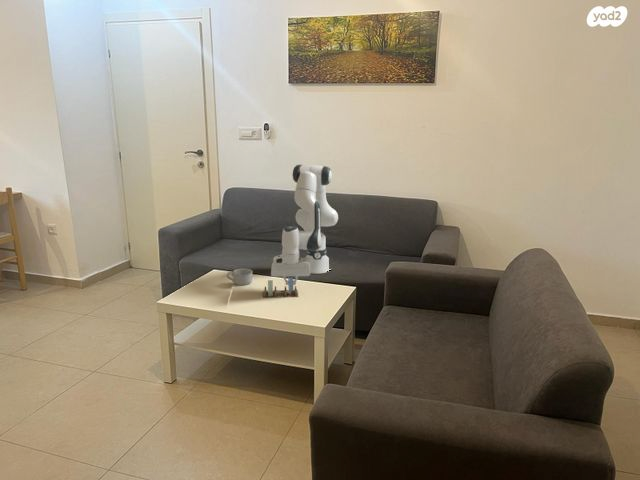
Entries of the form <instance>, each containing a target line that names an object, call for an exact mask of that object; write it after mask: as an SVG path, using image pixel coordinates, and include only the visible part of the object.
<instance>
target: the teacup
mask: <svg viewBox="0 0 640 480" xmlns="http://www.w3.org/2000/svg"><path fill="white" fill-rule="evenodd" d="M230 274H231V276H232V277H230ZM226 277H227V278H228V280H230V281H231V282H232V283H233V284H235V285H237V286H247V285H251V283H252V282H253V270H251V269H249V268H237V269H234V270H233V271H228V272H227V274H226Z"/></svg>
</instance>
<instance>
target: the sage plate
mask: <svg viewBox="0 0 640 480" xmlns="http://www.w3.org/2000/svg"><path fill="white" fill-rule="evenodd" d="M273 283H274V281H273V280H267V291H268V296H273V290H274V284H273Z"/></svg>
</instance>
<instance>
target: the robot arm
mask: <svg viewBox="0 0 640 480" xmlns="http://www.w3.org/2000/svg"><path fill="white" fill-rule="evenodd" d="M332 179H333V173H332V170H331V168H330V167H329V166H325V165H317V164H296V165H295V166H294V167H293V170H292V180H293V181H294V183H296V184H295V185H296V186H295V191H294V196H293V197H294V202H295V203H296V205H297V206H298V207H300V209H298V210H297V212H296V213H295V222H296V223H297V224H298V225H299V226H300V227H301V228H302V229H303V230H299V227H298V226H296V225H289V226H288V225H287V226H284V227H283V230H282V234H281V246H282V250H281V254H278V255H276V256H274V257H273V259H272V261H273V262H272V263H271V267H270V268H271V269H270V275H271V277H273V278H275V277H277V278H278V277H279V278H280V277H282V278H283V281H284V282H285V286H288V285H289V284H288V283H289V282H288V279H287V277H288V276H293V277H294V278H295V279H293V286H296V284H297V281H298V279H299V277H310V275H311V274H325V273H328V272H330V271H329V270H331V269H332V268H331V269H329V267H330V264H329V262H330V259H329V258H330V257H328V256H327V247H326V243H327V241H326V238H327V236H326V235H325V234H324V233H323V232H322V227H333V226H335V225H336V224H337V223H338V221H339V213H338V212H337V210H335V208H332V206H331V205H330V204H329V203H328V201H327V190H326V188H327V187H326V186H327V185H329V184H331V181H332ZM300 250H304V251H305V250H306V256H305V257H300ZM327 271H328V272H327Z"/></svg>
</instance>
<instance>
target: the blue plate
mask: <svg viewBox="0 0 640 480" xmlns="http://www.w3.org/2000/svg"><path fill="white" fill-rule="evenodd" d="M287 278H288V279H287V281H288V282H289V283H288V284H289V285H287V286H288V287H287V290H294V285H293V281H294V276H287Z"/></svg>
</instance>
